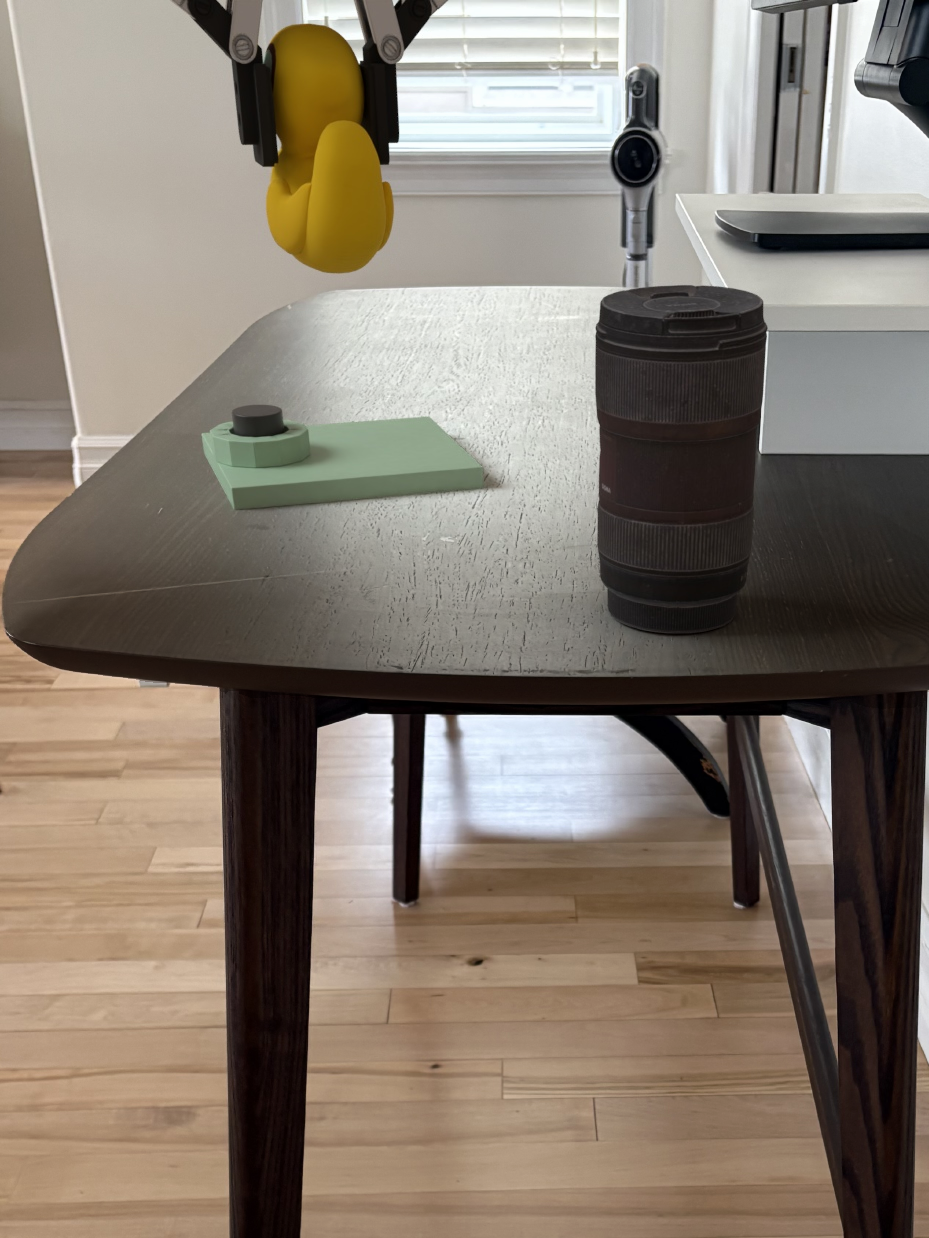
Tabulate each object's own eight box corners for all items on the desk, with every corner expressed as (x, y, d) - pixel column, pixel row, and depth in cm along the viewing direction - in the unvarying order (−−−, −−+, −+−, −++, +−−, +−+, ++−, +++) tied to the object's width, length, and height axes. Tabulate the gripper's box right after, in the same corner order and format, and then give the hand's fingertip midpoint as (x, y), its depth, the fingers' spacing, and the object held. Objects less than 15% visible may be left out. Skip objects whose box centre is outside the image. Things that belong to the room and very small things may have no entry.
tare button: (238, 443, 96) (235, 418, 95) (231, 431, 99) (228, 406, 98) (288, 440, 97) (286, 414, 96) (280, 428, 99) (277, 403, 99)
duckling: (246, 254, 78) (224, 19, 72) (348, 251, 79) (334, 21, 74) (305, 290, 69) (285, 27, 63) (417, 286, 71) (408, 29, 65)
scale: (233, 511, 93) (227, 460, 91) (203, 454, 104) (197, 408, 102) (484, 489, 97) (482, 440, 96) (430, 437, 108) (428, 392, 106)
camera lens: (572, 596, 81) (572, 287, 72) (711, 580, 83) (727, 279, 75) (624, 648, 75) (631, 318, 66) (773, 630, 77) (799, 308, 68)
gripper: (462, -331, 66) (474, 153, 77) (59, -360, 61) (131, 158, 72) (509, -359, 60) (515, 169, 71) (68, -393, 56) (145, 175, 66)
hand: (321, 158), depth 71 cm, fingers closed on duckling, 4 cm apart
